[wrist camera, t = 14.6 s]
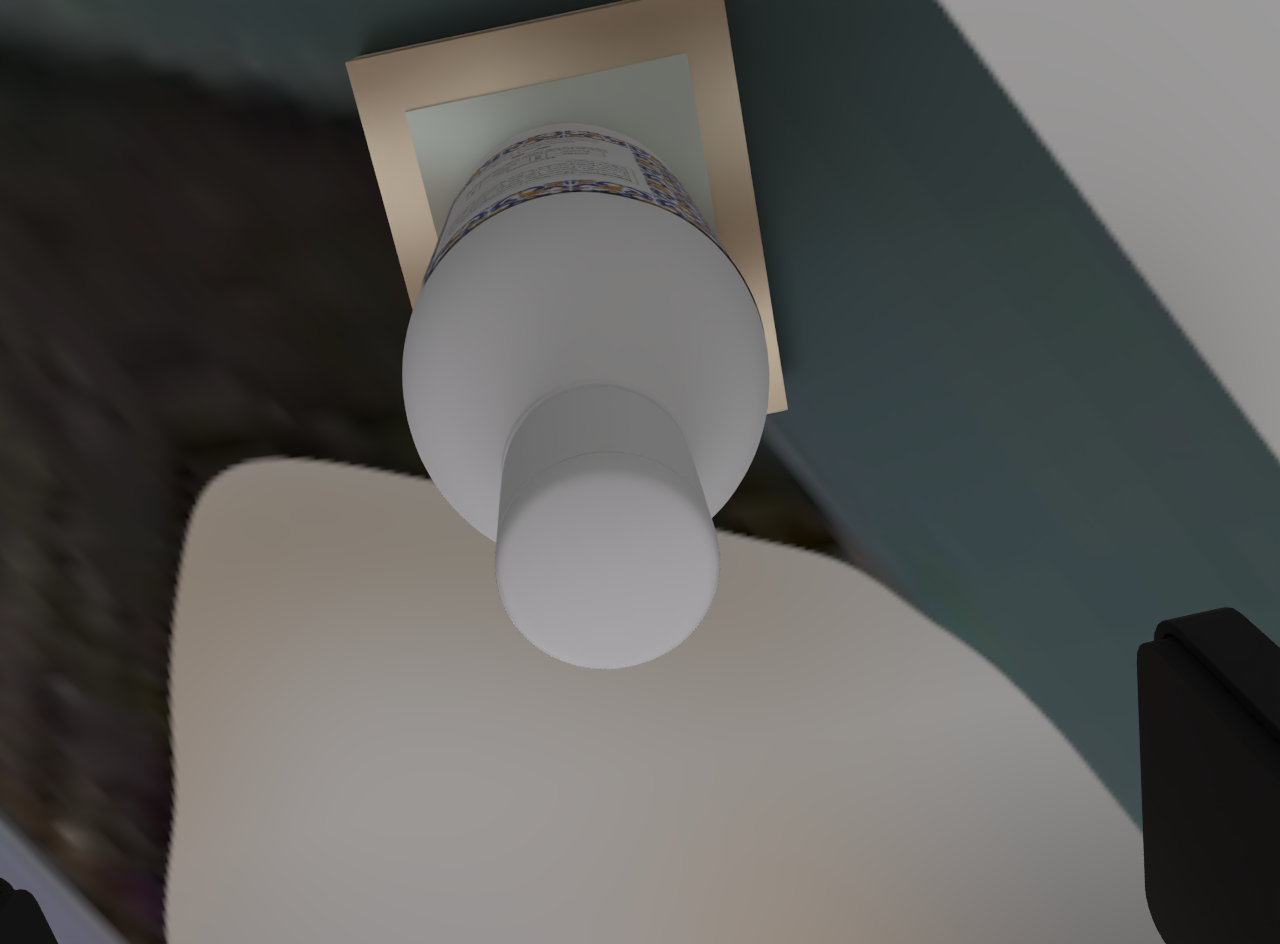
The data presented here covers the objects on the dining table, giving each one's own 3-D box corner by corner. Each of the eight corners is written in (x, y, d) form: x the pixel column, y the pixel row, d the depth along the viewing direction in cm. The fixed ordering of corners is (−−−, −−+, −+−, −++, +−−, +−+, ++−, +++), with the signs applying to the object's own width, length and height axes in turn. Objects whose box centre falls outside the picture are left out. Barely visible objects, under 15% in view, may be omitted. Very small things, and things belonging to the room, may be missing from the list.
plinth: (358, 56, 34) (344, 62, 32) (709, -18, 34) (722, -17, 32) (463, 447, 39) (458, 480, 36) (773, 383, 39) (788, 411, 36)
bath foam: (663, 390, 36) (792, 835, 17) (426, 340, 35) (296, 759, 16) (724, 153, 33) (951, 378, 15) (472, 92, 32) (380, 253, 14)
